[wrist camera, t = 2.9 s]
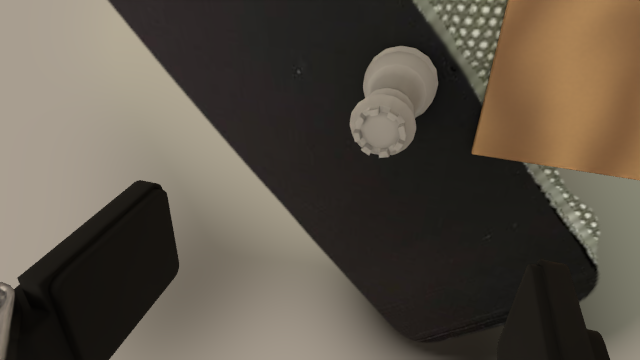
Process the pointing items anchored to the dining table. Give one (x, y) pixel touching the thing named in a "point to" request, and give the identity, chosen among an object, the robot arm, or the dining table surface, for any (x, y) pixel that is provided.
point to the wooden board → (565, 87)
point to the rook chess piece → (393, 100)
